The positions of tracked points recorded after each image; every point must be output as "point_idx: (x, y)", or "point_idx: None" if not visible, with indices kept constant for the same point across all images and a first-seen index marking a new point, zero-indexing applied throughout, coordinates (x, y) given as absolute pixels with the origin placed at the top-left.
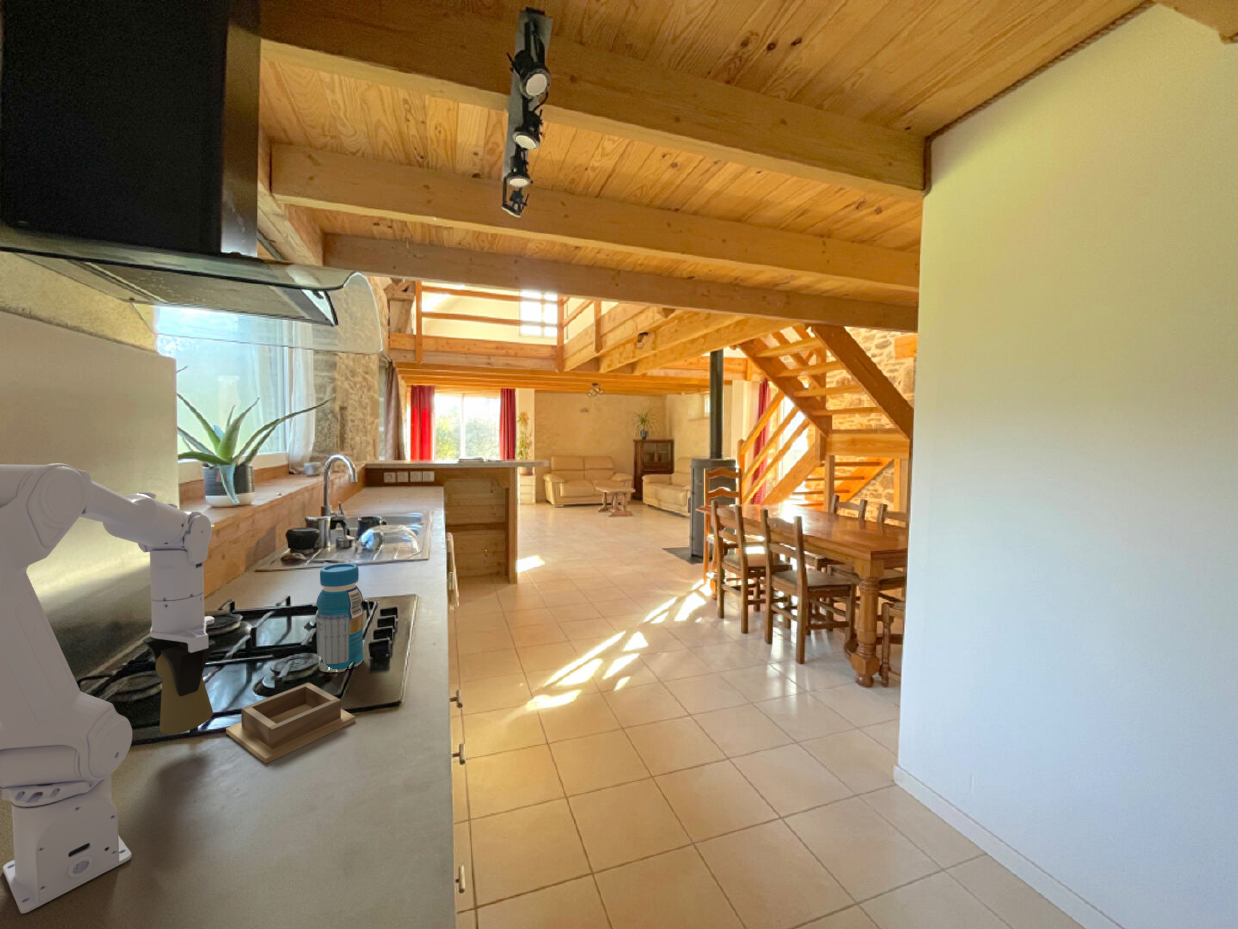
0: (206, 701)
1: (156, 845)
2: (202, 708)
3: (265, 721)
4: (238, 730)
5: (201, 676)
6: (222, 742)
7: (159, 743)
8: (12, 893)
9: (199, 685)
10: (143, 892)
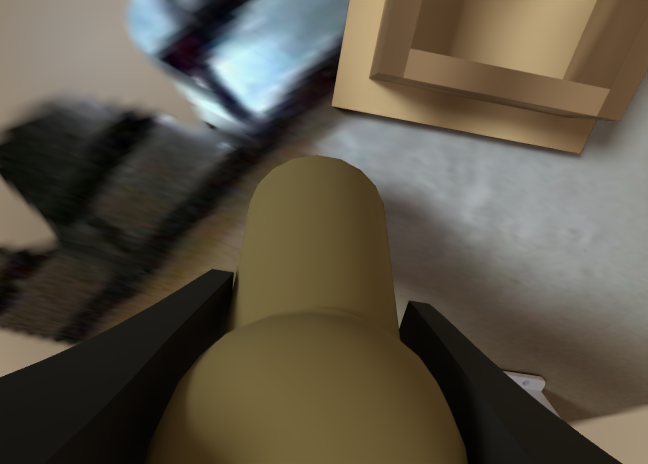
0: (376, 214)
1: (549, 351)
2: (386, 229)
3: (554, 95)
4: (381, 97)
5: (476, 348)
6: (367, 138)
7: (227, 207)
8: None
9: (440, 313)
10: (611, 391)
